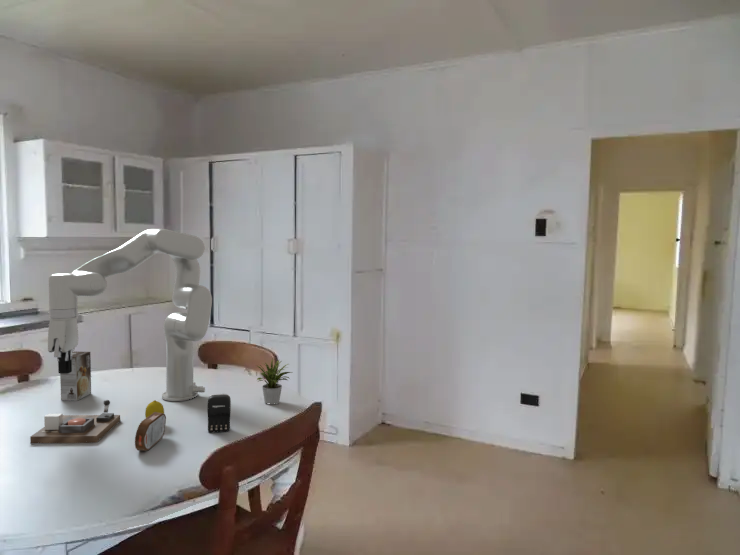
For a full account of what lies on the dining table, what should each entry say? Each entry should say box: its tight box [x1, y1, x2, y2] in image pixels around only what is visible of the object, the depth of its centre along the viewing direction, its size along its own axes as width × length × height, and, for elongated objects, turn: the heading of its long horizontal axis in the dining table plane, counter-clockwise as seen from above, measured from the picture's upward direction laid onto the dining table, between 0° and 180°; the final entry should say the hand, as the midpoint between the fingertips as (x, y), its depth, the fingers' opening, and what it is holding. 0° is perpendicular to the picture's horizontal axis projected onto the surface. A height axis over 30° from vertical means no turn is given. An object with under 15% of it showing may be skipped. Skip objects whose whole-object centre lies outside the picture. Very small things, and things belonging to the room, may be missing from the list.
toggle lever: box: [103, 399, 111, 413], centre depth 165 cm, size 2×2×4 cm
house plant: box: [256, 358, 293, 404], centre depth 189 cm, size 14×14×16 cm
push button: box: [68, 418, 86, 425], centre depth 156 cm, size 5×5×2 cm
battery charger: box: [206, 393, 232, 433], centre depth 161 cm, size 7×4×11 cm, turn 103°
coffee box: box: [59, 351, 92, 402], centre depth 191 cm, size 9×6×16 cm
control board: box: [29, 412, 121, 444], centre depth 158 cm, size 18×18×4 cm
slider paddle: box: [43, 413, 64, 430], centre depth 155 cm, size 4×2×4 cm, turn 95°
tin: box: [134, 412, 167, 452], centre depth 150 cm, size 15×3×8 cm, turn 178°
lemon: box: [144, 400, 165, 419], centre depth 165 cm, size 6×6×8 cm
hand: (65, 372), depth 161 cm, fingers closed
